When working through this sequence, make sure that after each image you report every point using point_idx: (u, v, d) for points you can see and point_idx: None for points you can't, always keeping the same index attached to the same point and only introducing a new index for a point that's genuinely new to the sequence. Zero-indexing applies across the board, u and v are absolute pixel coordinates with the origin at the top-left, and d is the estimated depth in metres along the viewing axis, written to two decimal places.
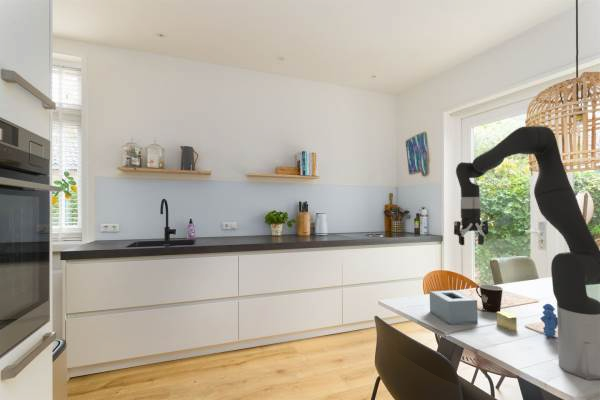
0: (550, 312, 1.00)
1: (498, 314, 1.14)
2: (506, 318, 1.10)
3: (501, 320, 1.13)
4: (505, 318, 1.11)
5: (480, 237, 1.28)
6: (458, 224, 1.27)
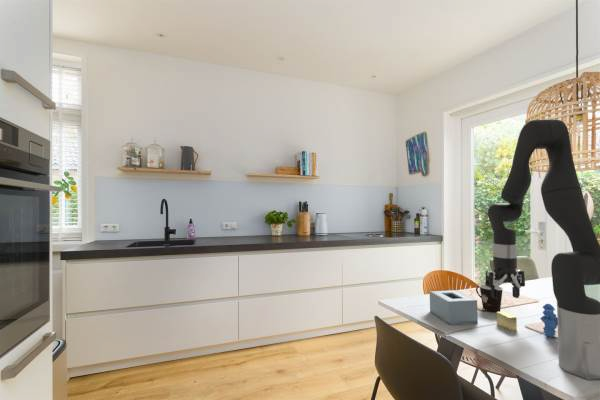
0: (550, 312, 1.00)
1: (498, 314, 1.14)
2: (506, 318, 1.10)
3: (501, 320, 1.13)
4: (505, 318, 1.11)
5: (515, 289, 1.13)
6: (491, 275, 1.11)
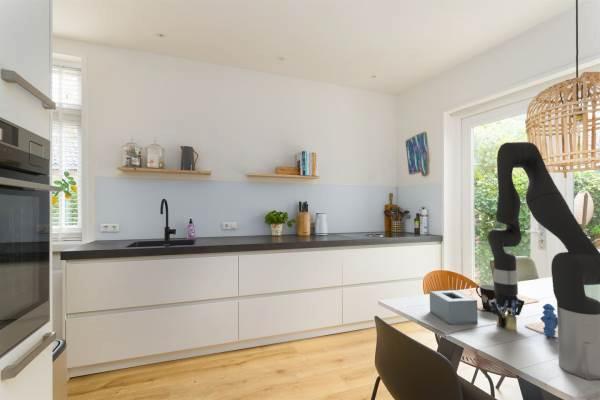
0: (550, 312, 1.00)
1: None
2: (506, 317, 1.10)
3: None
4: (505, 318, 1.11)
5: None
6: (493, 305, 1.11)
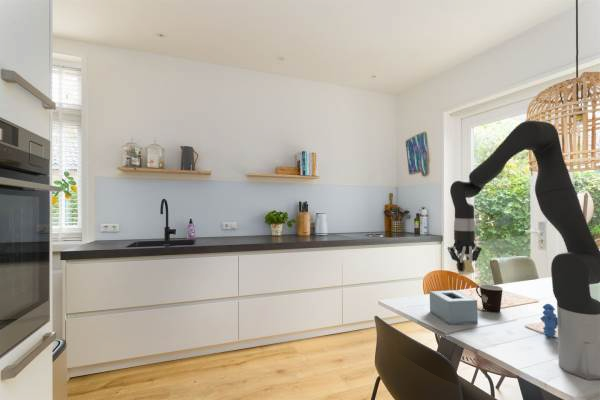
0: (550, 312, 1.00)
1: None
2: (462, 262, 1.20)
3: None
4: None
5: None
6: (452, 251, 1.20)
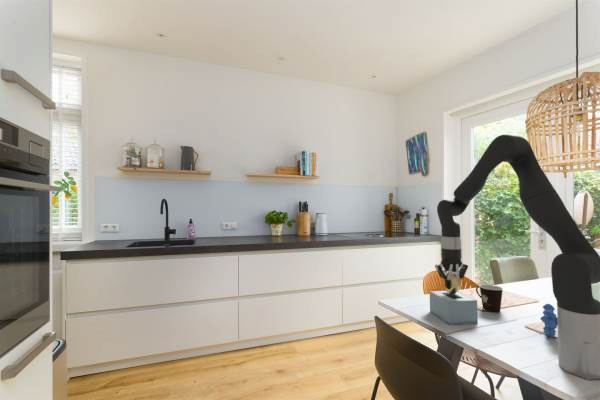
0: (550, 312, 1.00)
1: (444, 283, 1.26)
2: None
3: None
4: None
5: None
6: (439, 269, 1.22)
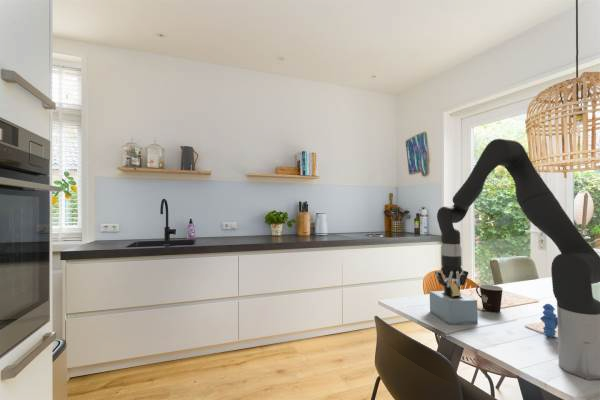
0: (550, 312, 1.00)
1: None
2: None
3: None
4: None
5: None
6: (439, 275, 1.22)
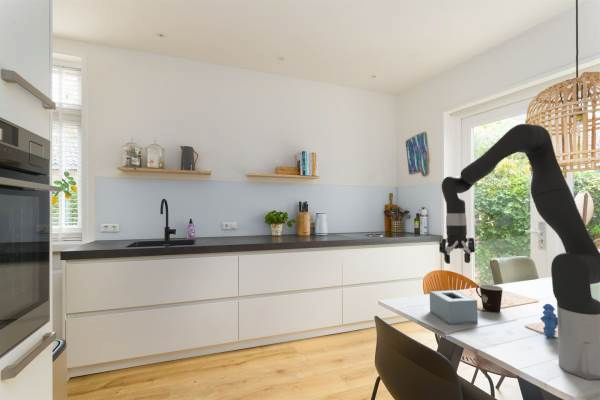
0: (550, 312, 1.00)
1: None
2: None
3: None
4: None
5: (466, 255, 1.23)
6: (443, 242, 1.21)
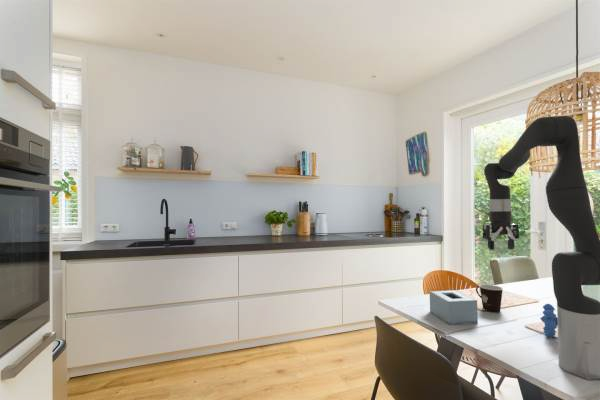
0: (550, 312, 1.00)
1: None
2: None
3: None
4: None
5: (510, 241, 1.22)
6: (488, 228, 1.21)
